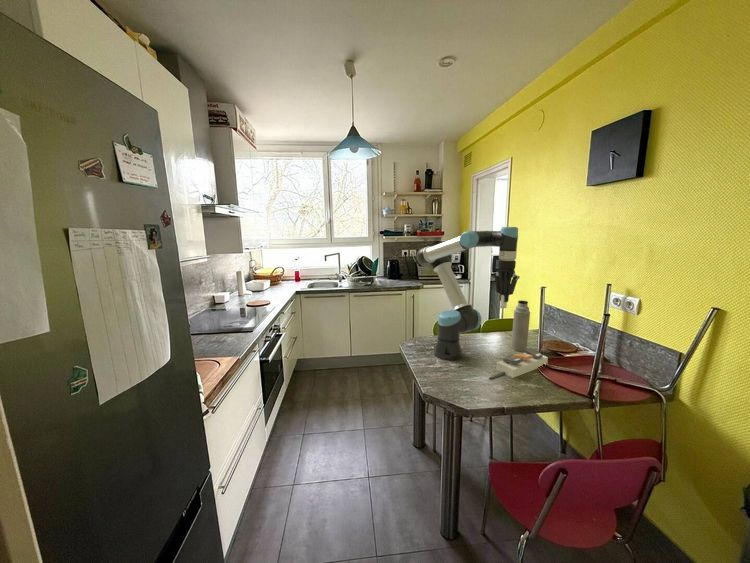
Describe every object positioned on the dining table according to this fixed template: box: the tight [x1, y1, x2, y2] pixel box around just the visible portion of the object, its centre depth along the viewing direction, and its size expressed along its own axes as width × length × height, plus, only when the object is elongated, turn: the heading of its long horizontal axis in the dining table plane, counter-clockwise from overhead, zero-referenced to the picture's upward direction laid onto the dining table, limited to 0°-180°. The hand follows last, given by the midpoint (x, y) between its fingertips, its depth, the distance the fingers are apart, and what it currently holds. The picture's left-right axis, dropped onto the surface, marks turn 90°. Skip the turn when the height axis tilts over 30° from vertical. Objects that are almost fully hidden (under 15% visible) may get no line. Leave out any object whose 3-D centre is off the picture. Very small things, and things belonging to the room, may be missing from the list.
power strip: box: [488, 352, 549, 380], centre depth 142 cm, size 9×38×5 cm, turn 120°
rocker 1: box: [502, 356, 523, 364], centre depth 140 cm, size 7×5×2 cm
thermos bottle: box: [510, 300, 531, 353], centre depth 165 cm, size 8×8×28 cm
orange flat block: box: [512, 352, 533, 360], centre depth 144 cm, size 7×5×2 cm
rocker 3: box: [523, 347, 544, 359], centre depth 148 cm, size 7×5×2 cm
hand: (503, 307), depth 143 cm, fingers closed
